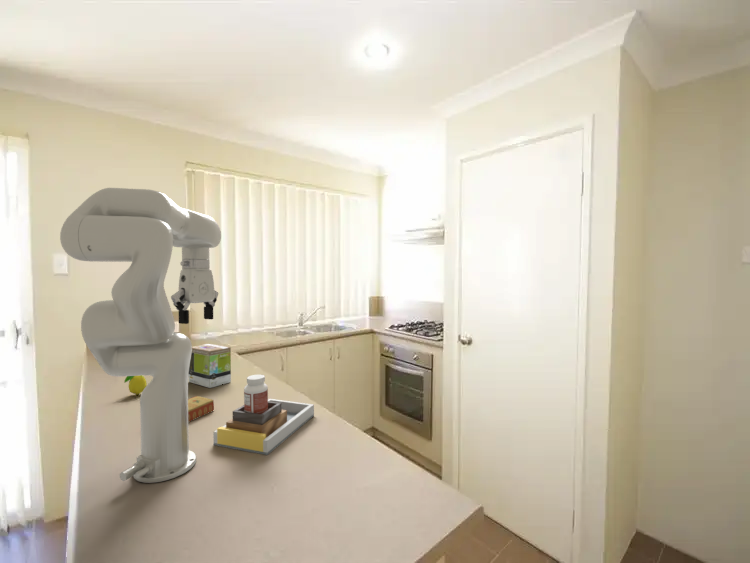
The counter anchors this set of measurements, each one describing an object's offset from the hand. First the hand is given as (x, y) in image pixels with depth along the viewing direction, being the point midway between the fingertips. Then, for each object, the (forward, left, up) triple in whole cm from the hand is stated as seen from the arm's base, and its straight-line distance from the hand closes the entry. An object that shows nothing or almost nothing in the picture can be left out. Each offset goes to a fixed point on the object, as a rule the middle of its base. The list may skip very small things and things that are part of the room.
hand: (196, 321), depth 108 cm
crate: (-4, -25, -29) cm, 39 cm away
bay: (0, -25, -30) cm, 39 cm away
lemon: (+10, +37, -31) cm, 49 cm away
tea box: (+30, +23, -31) cm, 49 cm away
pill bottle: (-5, -25, -25) cm, 35 cm away
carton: (-1, +5, -31) cm, 31 cm away
